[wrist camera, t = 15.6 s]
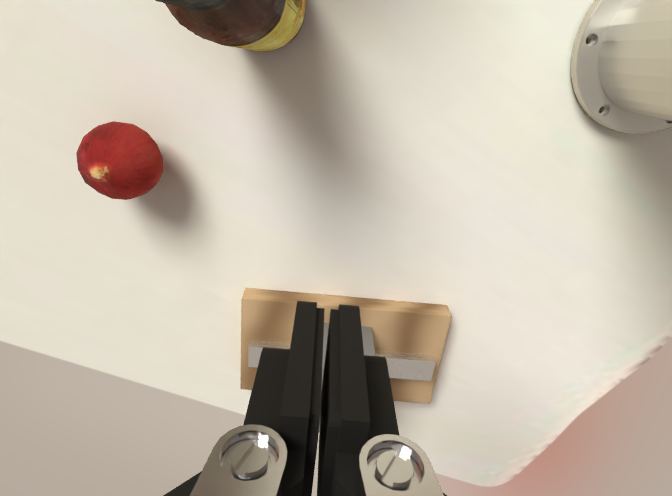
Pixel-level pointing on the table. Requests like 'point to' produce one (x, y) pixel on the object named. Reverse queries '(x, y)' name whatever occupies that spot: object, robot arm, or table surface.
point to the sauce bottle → (241, 21)
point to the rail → (396, 361)
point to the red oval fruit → (119, 160)
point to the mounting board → (382, 315)
